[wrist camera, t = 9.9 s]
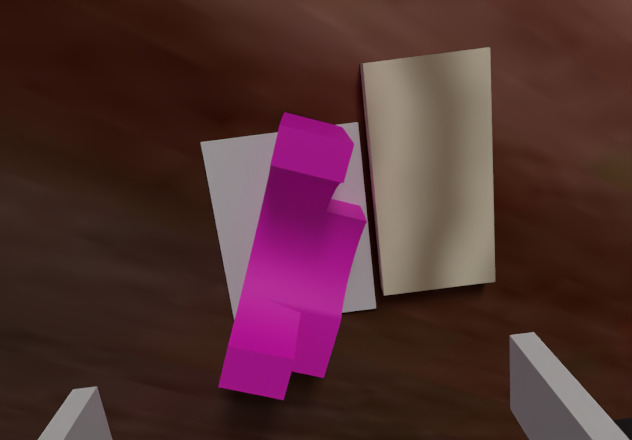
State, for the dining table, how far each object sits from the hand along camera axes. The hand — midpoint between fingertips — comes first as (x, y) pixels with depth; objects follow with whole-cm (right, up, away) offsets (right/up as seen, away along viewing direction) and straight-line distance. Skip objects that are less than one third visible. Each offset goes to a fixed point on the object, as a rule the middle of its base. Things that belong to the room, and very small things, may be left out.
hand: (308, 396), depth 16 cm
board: (+8, +9, +17) cm, 21 cm away
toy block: (-1, +5, +18) cm, 19 cm away
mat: (-1, +5, +18) cm, 19 cm away
